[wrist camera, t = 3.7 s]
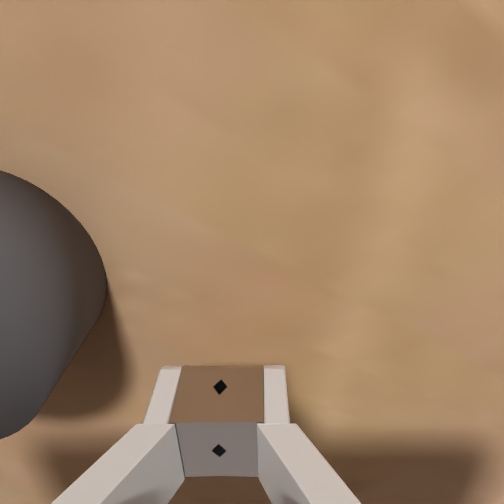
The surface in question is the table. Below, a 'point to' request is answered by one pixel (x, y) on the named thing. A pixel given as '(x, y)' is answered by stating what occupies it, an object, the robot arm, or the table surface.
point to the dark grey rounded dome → (41, 296)
